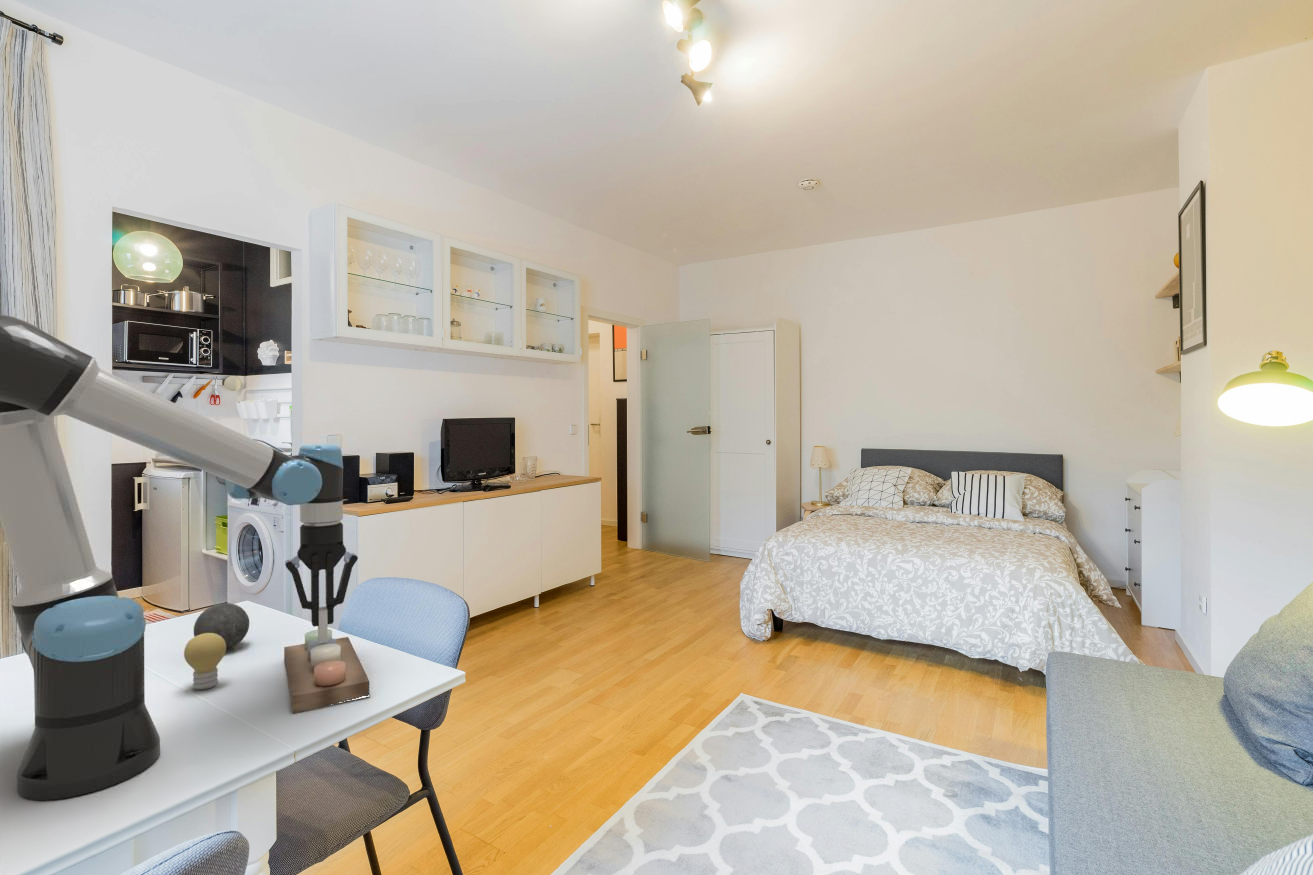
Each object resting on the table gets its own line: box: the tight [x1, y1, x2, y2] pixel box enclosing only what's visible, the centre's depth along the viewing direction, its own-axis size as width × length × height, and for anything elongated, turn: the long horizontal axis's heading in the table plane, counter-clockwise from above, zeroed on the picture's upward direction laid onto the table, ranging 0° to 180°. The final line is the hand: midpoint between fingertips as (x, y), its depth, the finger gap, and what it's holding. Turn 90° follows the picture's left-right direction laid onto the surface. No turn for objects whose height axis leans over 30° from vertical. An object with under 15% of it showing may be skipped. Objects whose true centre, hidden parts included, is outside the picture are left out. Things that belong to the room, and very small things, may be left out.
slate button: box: [308, 637, 336, 660], centre depth 126 cm, size 5×5×3 cm
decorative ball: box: [193, 602, 250, 651], centre depth 138 cm, size 10×10×10 cm
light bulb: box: [183, 633, 227, 691], centre depth 118 cm, size 6×6×10 cm
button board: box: [283, 636, 370, 714], centre depth 123 cm, size 12×28×3 cm, turn 33°
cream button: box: [311, 644, 341, 667], centre depth 120 cm, size 5×5×3 cm
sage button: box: [304, 628, 333, 649], centre depth 131 cm, size 5×5×3 cm
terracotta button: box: [314, 661, 345, 686], centre depth 114 cm, size 5×5×3 cm
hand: (322, 640), depth 126 cm, fingers closed
